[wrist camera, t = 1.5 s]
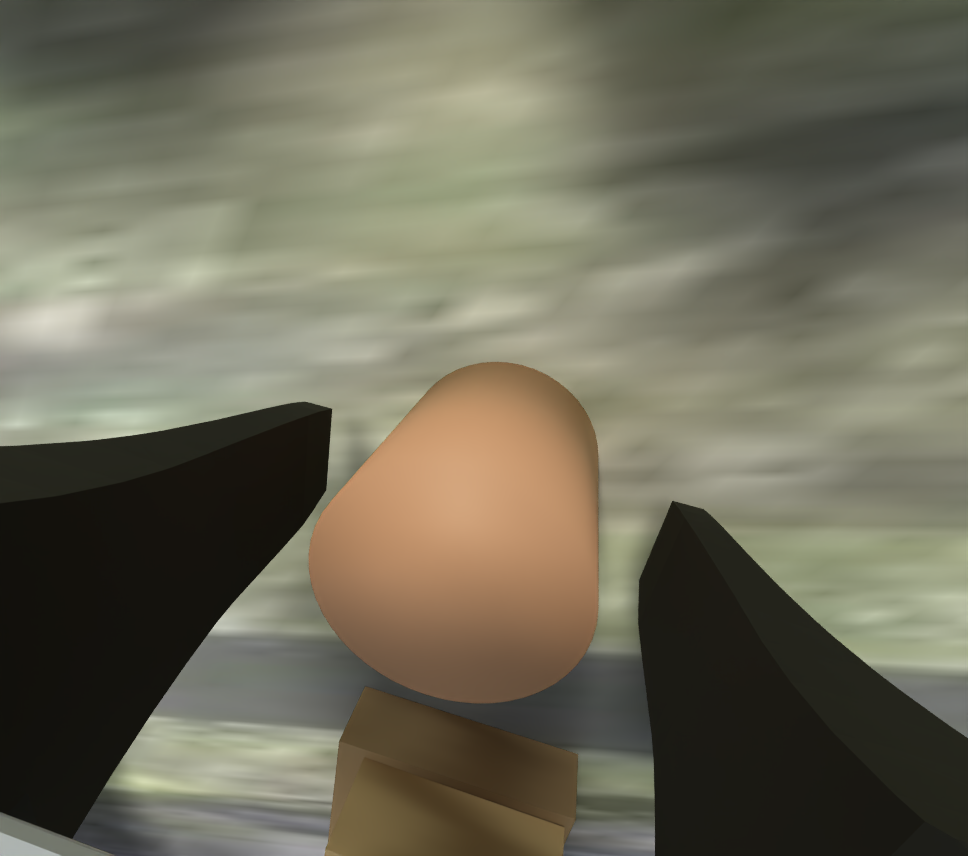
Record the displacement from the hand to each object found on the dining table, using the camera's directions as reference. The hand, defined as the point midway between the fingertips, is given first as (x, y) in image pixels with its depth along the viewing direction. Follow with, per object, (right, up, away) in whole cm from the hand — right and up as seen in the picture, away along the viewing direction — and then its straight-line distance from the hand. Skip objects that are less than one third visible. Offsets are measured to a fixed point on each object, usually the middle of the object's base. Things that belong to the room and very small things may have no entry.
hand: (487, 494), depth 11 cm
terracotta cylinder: (0, +1, +2) cm, 2 cm away
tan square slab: (-1, -11, +8) cm, 13 cm away
